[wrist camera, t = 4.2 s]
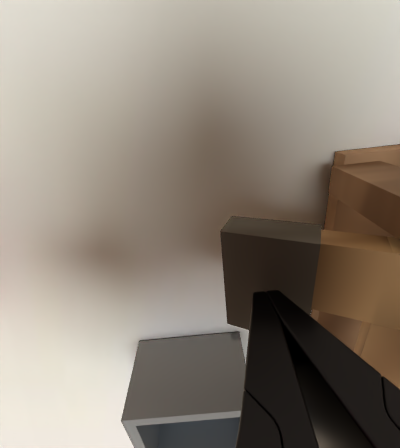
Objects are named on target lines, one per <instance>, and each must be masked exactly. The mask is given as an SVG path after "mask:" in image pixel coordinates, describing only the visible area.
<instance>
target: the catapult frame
mask: <svg viewBox="0 0 400 448" xmlns="http://www.w3.org/2000/svg"><path fill="white" fill-rule="evenodd" d="M328 193H329V198H328V205H327V211H326V218H325V225H324V230H330V231H340V232H349V233H358V234H368V235H377V236H387V237H396V238H397V239H399V240H400V144H399V145H390V146H381V147H373V148H364V149H355V150H346V151H337V152H335V157H334V164H333V166H332V170H331V177H330V184H329V190H328ZM311 317H312V318H313V319H315V320H316V321H317V322H318V323H319V324H321V325H322V326H323V327H324V328H326V329H327V330H328V331H329V332H330V333H332V334H333V335H334V336H335V337H337V338H338V339H339V340H340V341H341V342H343V343H344V344H345V345H346V346H347V347H349V348H350V349H351V350H352V351H354V349H355V345H356V342H357V338H358V335H359V331H360V328H361V324H362V321H360V320H355V319H351V318H347V317H343V316H338V315H334V314H330V313H326V312H321V311H317V310H313V309H312V313H311Z"/></svg>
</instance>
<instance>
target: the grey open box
mask: <svg viewBox="0 0 400 448" xmlns="http://www.w3.org/2000/svg"><path fill="white" fill-rule="evenodd" d="M245 368H246V364H245V359H244V354H243V349H242V344H241V339H240V334H239V332H231V333H220V334H209V335H199V336H188V337H177V338H167V339H156V340H145V341H139V344H138V349H137V353H136V357H135V362H134V366H133V371H132V375H131V379H130V384H129V388H128V393H127V397H126V401H125V406H124V410H123V415H122V419H121V422H122V424H123V426H124V428H125V430H126V432H127V434H128V436H129V438H130V440H131V442H132V444H133V446H134V448H235V446H236V441H237V436H238V430H239V422H240V415H241V407H242V397H243V391H244V378H245Z"/></svg>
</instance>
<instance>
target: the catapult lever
mask: <svg viewBox="0 0 400 448" xmlns="http://www.w3.org/2000/svg"><path fill="white" fill-rule="evenodd" d="M321 226H322V225H317V224H307V223H297V222H287V221H277V220H266V219H256V218H246V217H236V216H232V217H231V218H230V219H229V221H228V222H227V223H226V225H225V226H224V227H223V229H222V230H221V231H220V232H221V245H222V258H223V271H224V284H225V298H226V311H227V323H228V324H231V325H234V326H238V327H241V328H244V329H248V330H249V327H250V317H251V307H252V296H253V293H254V292H259V291H265V292H266V291H269V290H279V291H280V292H282V293H283V294H284V295H285V296H287V297H288V298H289V299H290V300H291V301H293V302H294V303H295V304H296V305H298V306H299V307H300V308H301V309H302V310H304V311H305V312H306V313H307V314H308V315H310V314H311V309H313V310H317V311H321V312H326V313H330V314H334V315H338V316H343V317H347V318H351V319H355V320H360V321H362V324H361V328H360V331H359V335H358V338H357V342H356V345H355V349H354V352H355V353H356V354H357V355H358V356H360V357H361V358H362V359H363V360H365V361H366V362H367V363H368V364H369V365H371V366H372V367H373V368H374V369H375V370H377V371H378V372H379V373H380V374H381V377H382V376H384V377H385V378H387V379H388V380H389V381H390V382H392V383H393V384H394V385H395V386H396V387H398V388H399V389H400V240H399V239H397V238H396V237H387V236H377V235H368V234H358V233H349V232H340V231H330V230H321Z"/></svg>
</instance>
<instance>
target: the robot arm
mask: <svg viewBox="0 0 400 448" xmlns="http://www.w3.org/2000/svg"><path fill="white" fill-rule="evenodd" d="M235 448H400V389H399V388H398V387H396V386H395V385H394V384H393V383H392V382H390V381H389V380H388V379H387V378H385V377H384V376H382V377H381V374H380V373H379V372H378V371H377V370H375V369H374V368H373V367H372V366H371V365H369V364H368V363H367V362H366V361H365V360H363V359H362V358H361V357H360V356H358V355H357V354H356V353H355V352H354V351H352V350H351V349H350V348H349V347H347V346H346V345H345V344H344V343H343V342H341V341H340V340H339V339H338V338H337V337H335V336H334V335H333V334H332V333H330V332H329V331H328V330H327V329H326V328H324V327H323V326H322V325H321V324H319V323H318V322H317V321H316V320H315V319H313V318H312V317H311V316H310V315H308V314H307V313H306V312H305V311H304V310H302V309H301V308H300V307H299V306H298V305H296V304H295V303H294V302H293V301H291V300H290V299H289V298H288V297H287V296H285V295H284V294H283V293H282V292H280V291H279V290H269V291H266V292H265V291H259V292H254V293H253V296H252V307H251V317H250V327H249V337H248V347H247V358H246V368H245V378H244V391H243V397H242V407H241V415H240V422H239V430H238V436H237V441H236V446H235Z"/></svg>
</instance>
